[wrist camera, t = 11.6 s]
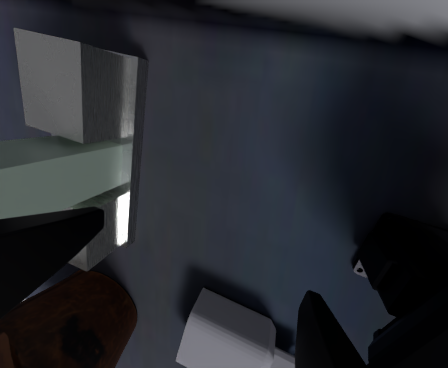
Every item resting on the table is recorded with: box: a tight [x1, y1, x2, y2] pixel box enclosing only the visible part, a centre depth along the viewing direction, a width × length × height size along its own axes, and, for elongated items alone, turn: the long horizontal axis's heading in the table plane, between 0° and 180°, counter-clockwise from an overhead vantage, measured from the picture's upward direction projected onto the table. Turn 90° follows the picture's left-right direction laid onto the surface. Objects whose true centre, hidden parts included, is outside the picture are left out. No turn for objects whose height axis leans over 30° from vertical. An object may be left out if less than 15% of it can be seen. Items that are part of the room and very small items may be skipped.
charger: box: [176, 288, 295, 368], centre depth 25 cm, size 5×9×15 cm
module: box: [0, 135, 123, 219], centre depth 18 cm, size 5×4×12 cm
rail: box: [14, 28, 148, 272], centre depth 22 cm, size 8×21×6 cm, turn 167°
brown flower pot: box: [0, 270, 137, 368], centre depth 26 cm, size 18×20×18 cm
